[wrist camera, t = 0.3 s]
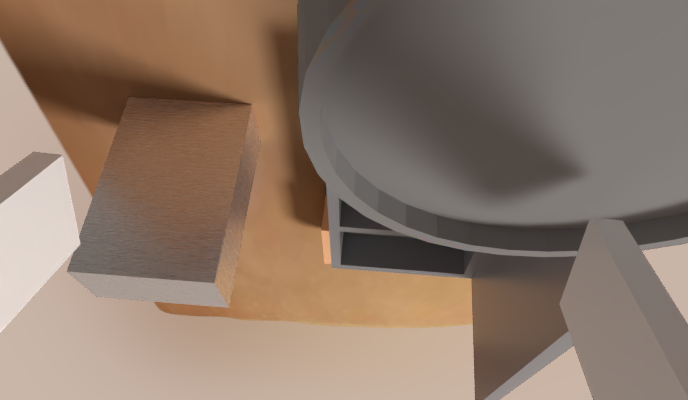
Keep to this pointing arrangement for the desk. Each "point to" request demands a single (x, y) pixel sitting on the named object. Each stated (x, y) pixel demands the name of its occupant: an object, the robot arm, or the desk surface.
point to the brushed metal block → (170, 203)
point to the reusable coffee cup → (500, 117)
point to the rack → (487, 292)
